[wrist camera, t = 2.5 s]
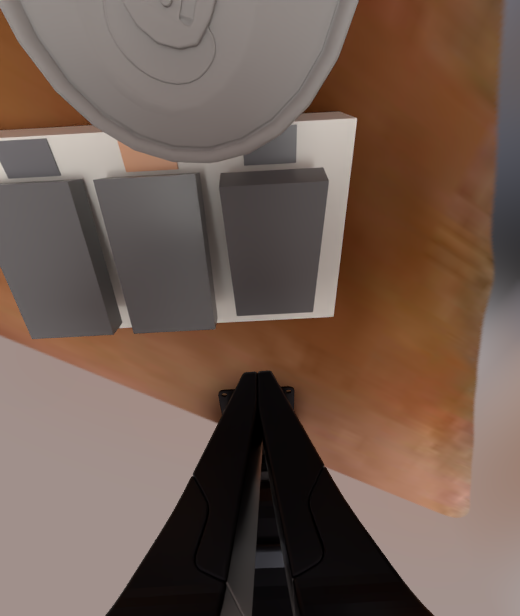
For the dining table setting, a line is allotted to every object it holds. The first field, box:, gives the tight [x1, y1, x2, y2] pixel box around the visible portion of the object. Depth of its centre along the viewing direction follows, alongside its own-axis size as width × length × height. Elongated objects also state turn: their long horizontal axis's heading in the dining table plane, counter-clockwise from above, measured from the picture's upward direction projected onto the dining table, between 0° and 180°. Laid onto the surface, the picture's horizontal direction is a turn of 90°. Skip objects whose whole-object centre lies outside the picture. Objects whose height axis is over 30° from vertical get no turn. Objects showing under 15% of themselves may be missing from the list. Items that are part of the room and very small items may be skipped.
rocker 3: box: [219, 167, 329, 316], centre depth 14 cm, size 7×4×1 cm, turn 3°
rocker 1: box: [0, 179, 122, 339], centre depth 14 cm, size 7×4×1 cm, turn 3°
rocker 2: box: [93, 172, 218, 334], centre depth 14 cm, size 7×4×1 cm, turn 3°
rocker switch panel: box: [0, 111, 357, 328], centre depth 17 cm, size 10×17×3 cm, turn 93°
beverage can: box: [0, 0, 359, 163], centre depth 8 cm, size 5×5×12 cm
